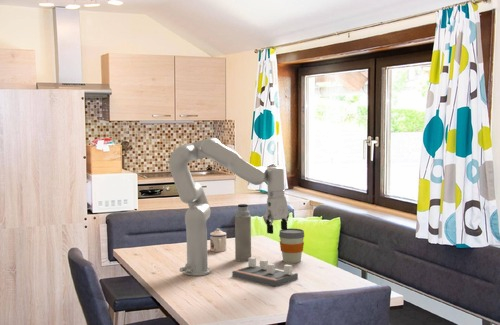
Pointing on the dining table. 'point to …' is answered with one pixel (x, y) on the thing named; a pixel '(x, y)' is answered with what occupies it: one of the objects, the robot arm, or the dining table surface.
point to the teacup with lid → (218, 241)
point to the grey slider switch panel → (265, 273)
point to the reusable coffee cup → (291, 244)
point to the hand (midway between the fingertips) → (277, 231)
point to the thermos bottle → (242, 233)
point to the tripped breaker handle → (271, 268)
